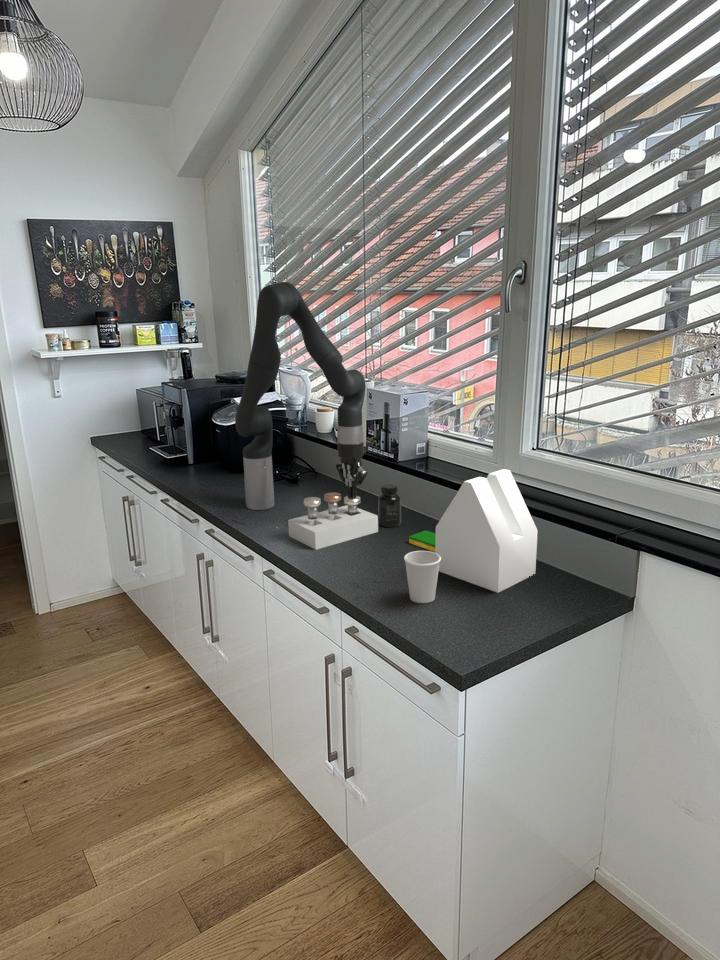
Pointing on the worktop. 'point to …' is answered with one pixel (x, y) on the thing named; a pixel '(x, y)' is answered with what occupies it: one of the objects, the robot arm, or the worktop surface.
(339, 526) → the mount
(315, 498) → the knob
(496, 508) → the white house-shaped block
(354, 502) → the knob
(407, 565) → the dixie cup
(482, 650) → the worktop surface
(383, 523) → the supplement bottle
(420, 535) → the dish sponge
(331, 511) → the knob centre
